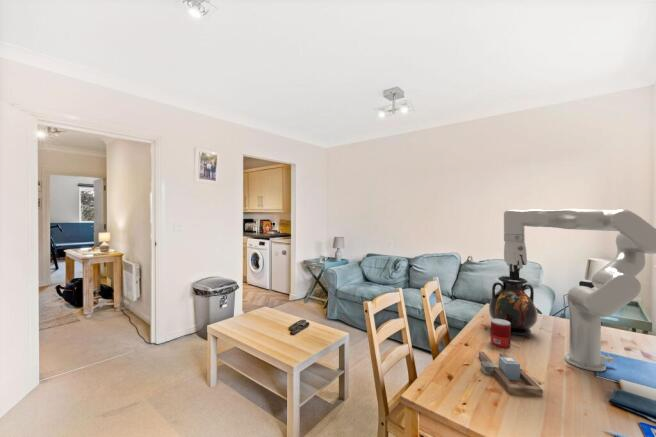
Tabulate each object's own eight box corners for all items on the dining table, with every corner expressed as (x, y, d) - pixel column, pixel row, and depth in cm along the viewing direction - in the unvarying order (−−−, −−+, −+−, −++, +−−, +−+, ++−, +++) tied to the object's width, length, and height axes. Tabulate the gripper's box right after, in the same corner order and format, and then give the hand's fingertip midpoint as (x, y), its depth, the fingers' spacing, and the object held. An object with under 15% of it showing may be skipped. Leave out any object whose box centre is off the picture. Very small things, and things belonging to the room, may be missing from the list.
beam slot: (504, 358, 119) (504, 351, 119) (542, 396, 93) (542, 387, 93) (471, 356, 121) (471, 349, 121) (500, 393, 95) (500, 384, 95)
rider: (512, 373, 107) (512, 356, 107) (519, 380, 102) (520, 363, 102) (498, 372, 108) (498, 355, 108) (505, 379, 103) (505, 362, 103)
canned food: (513, 349, 128) (513, 325, 128) (494, 347, 129) (494, 323, 129) (506, 341, 135) (506, 319, 135) (488, 340, 137) (488, 317, 137)
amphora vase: (494, 336, 141) (495, 281, 141) (484, 321, 162) (484, 273, 162) (545, 342, 135) (545, 284, 135) (527, 326, 155) (528, 275, 155)
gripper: (533, 239, 114) (534, 284, 114) (514, 237, 129) (514, 276, 129) (514, 239, 115) (514, 284, 115) (496, 237, 130) (497, 276, 130)
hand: (514, 280), depth 122 cm, fingers closed
